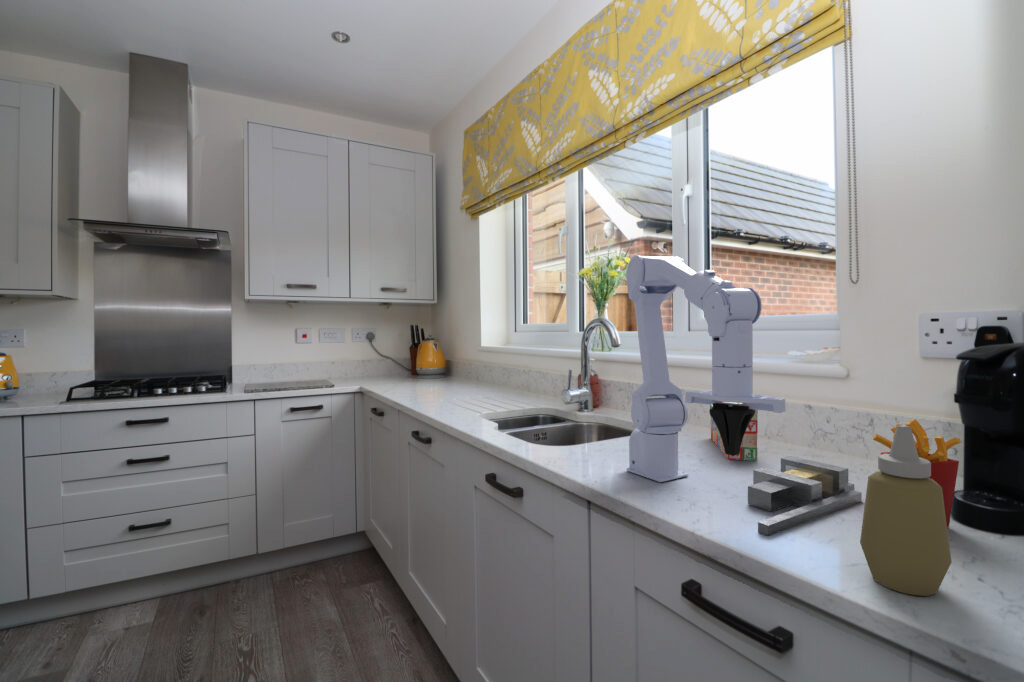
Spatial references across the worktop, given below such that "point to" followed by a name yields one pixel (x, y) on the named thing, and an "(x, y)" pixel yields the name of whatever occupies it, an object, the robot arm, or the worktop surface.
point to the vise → (836, 498)
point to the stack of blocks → (748, 442)
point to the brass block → (804, 474)
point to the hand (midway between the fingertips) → (732, 453)
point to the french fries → (933, 461)
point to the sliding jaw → (782, 490)
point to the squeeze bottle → (905, 521)
